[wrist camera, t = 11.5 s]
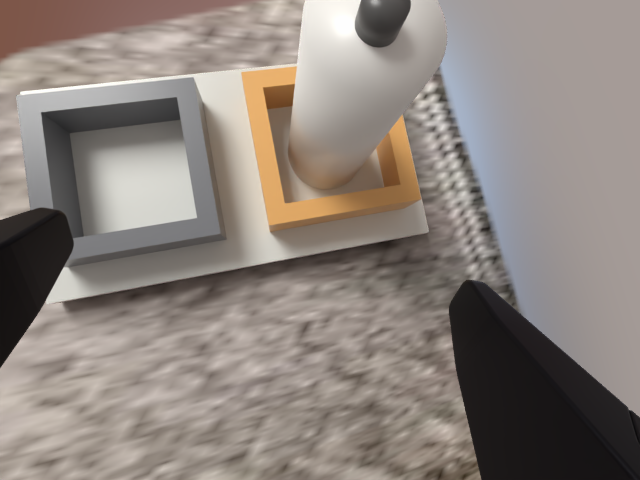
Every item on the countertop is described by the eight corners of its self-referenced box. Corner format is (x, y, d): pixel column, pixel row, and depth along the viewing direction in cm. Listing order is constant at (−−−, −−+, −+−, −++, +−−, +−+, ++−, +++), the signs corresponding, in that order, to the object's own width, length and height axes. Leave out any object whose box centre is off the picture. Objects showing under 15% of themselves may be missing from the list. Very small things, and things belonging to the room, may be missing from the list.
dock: (422, 234, 23) (449, 225, 20) (57, 303, 20) (12, 307, 16) (384, 63, 24) (403, 27, 21) (31, 100, 21) (-17, 64, 17)
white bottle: (349, 199, 22) (442, 101, 10) (277, 175, 21) (283, 43, 9) (369, 131, 22) (479, -37, 10) (300, 107, 22) (332, -97, 10)
